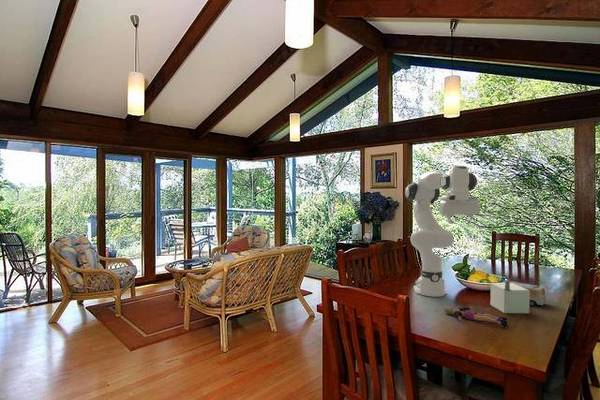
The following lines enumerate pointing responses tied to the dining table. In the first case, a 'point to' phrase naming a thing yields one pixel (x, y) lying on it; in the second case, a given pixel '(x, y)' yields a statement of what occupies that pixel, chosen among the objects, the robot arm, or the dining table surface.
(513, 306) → the end flap
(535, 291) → the toy car
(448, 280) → the dining table surface
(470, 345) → the dining table surface
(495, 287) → the carton
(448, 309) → the character figurine
